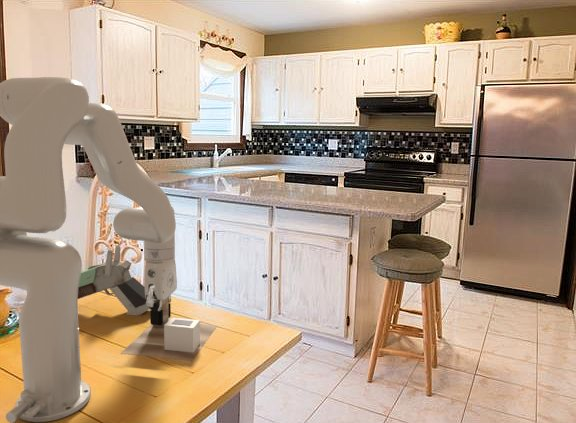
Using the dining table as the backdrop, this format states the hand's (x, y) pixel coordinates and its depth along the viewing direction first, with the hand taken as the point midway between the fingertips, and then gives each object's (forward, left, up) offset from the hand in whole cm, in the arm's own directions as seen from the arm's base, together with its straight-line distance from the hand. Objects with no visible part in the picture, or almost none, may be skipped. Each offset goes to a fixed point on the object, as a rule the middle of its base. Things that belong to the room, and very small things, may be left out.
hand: (160, 320), depth 116 cm
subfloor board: (-7, -6, -3) cm, 9 cm away
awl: (0, 0, -1) cm, 1 cm away
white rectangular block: (-10, -10, -1) cm, 14 cm away
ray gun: (+6, +23, -3) cm, 24 cm away
